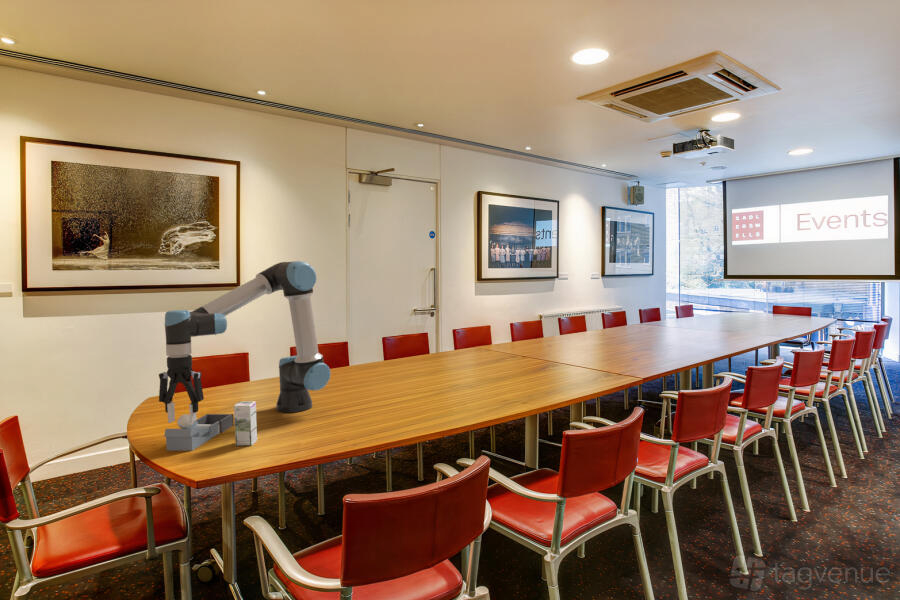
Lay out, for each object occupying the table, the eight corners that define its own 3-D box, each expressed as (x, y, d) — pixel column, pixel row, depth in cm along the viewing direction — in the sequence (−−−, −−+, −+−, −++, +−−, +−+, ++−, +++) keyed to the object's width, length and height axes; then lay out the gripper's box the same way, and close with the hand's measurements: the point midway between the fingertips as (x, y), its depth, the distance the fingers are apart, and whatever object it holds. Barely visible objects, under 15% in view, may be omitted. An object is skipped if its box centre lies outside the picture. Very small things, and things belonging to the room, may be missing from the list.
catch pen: (221, 432, 182) (221, 421, 182) (194, 432, 183) (193, 421, 183) (233, 425, 191) (233, 413, 191) (207, 425, 192) (206, 414, 192)
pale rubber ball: (186, 425, 165) (191, 411, 168) (172, 425, 165) (177, 411, 168) (193, 431, 169) (198, 417, 172) (179, 431, 169) (184, 417, 172)
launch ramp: (190, 451, 164) (189, 429, 163) (164, 451, 164) (163, 429, 163) (219, 432, 182) (218, 413, 182) (196, 432, 183) (195, 413, 182)
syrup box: (257, 440, 174) (256, 400, 173) (251, 446, 168) (250, 405, 167) (241, 440, 174) (240, 400, 173) (235, 446, 168) (233, 405, 167)
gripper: (213, 353, 168) (216, 418, 170) (158, 353, 169) (161, 418, 171) (201, 357, 161) (204, 425, 162) (143, 357, 162) (147, 425, 163)
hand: (182, 421), depth 167 cm, fingers open, 7 cm apart
